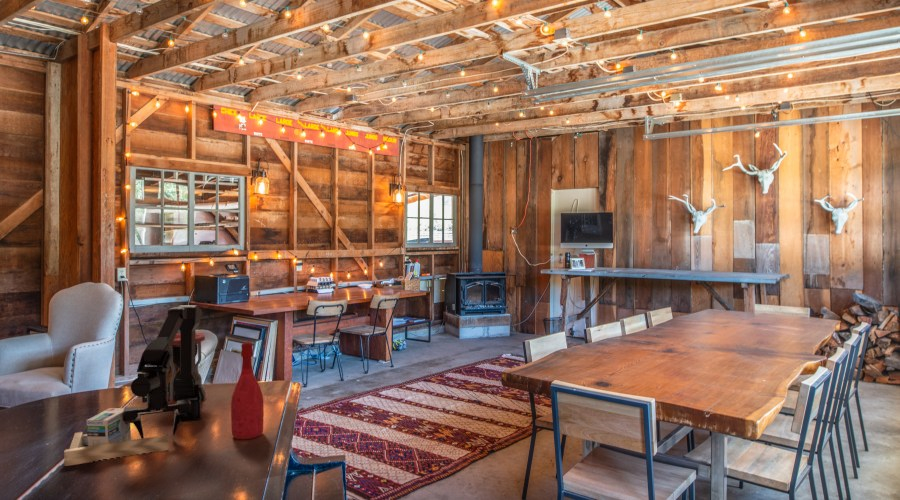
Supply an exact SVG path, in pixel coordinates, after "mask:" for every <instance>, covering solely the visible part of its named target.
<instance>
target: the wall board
mask: <svg viewBox="0 0 900 500" xmlns="http://www.w3.org/2000/svg"><path fill="white" fill-rule="evenodd" d="M83 433H84V431H79V432H74V434H73V435H74V436H73V438H72V441H71V443H70V446H69V448H67V449H64V451H63V453H64V454H63V456H64V458H63V459H64V460H63V462H64V464H63V465H64V467H66V466H67V467H69V466H75V465H80V464H88V463H93V461H95V462H99V461H98V460H101V461H104V460H103V459H107V460H111V459H110V458H114V459H117V458H116V457H120V458H123V457H122V456H126V457H130V456H129V455H133V456H136V455H135V454H139V455H143V454H142V453H146V454H150V452H152V453H157V452H164V451H169V435H168V434H164V435H157V436H149V437H144V438H142V439H141V438H136V439H131V440H128V441H121V442H114V443H107V444H100V445H93V446H88V445H86V446H83V435H84V434H83Z"/></svg>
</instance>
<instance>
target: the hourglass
mask: <svg viewBox="0 0 900 500" xmlns="http://www.w3.org/2000/svg"><path fill="white" fill-rule="evenodd" d="M205 340H206V335H205V334H203V333H196V332H195V358H196V357H197V362H195V372H196V373H197V375H198V376H199V378H200V384H201V386H202V387H203V384H202V383H203V382H202V381H203V380H202V375H201V373H199V365H200V363H201V362H202V342H203V341H205ZM171 349H172V358H171V361H170V363H169V370H167V379H168V377H169V376H170V374H171V377H170V379H168V405H174V404H177V402H175V397H174V392H173V390H174V381H175V379H177V378H178V376H179V375H180V333H177V334H176V336H175V339H174V341H173V343H172V345H171ZM176 367H177V368H178V370H177V369H176ZM205 397H206V393H205ZM201 402H202V401H200V403H201Z"/></svg>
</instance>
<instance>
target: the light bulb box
mask: <svg viewBox="0 0 900 500" xmlns="http://www.w3.org/2000/svg"><path fill="white" fill-rule="evenodd" d="M124 409H125V408H119V407H118V408H115V407H109V408H107V409H105V410H104V411H102V412H100V413H98V414H96V415H94V416H92V417H90V418H88V419H86V434H87V436H88V445H87V446H93V445H100V444H107V443H114V442H121V441H128V440H132V433H131V432H132V431H131V423H129V421H123V411H124Z"/></svg>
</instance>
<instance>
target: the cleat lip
mask: <svg viewBox="0 0 900 500" xmlns="http://www.w3.org/2000/svg"><path fill="white" fill-rule="evenodd" d="M86 446H88V436H87V433H85V434H83V446H82V447H86Z"/></svg>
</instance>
